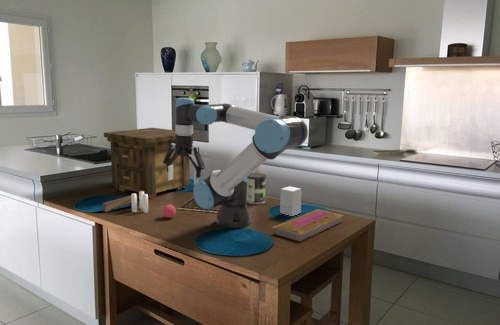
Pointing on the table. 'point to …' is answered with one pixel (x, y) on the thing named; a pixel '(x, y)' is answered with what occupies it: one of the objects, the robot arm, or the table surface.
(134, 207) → the pin
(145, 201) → the front pin
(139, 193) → the pin
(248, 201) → the coffee can
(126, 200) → the backstop
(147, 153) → the wooden drawer cabinet
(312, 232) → the pink-striped wooden board
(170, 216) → the ball
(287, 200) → the supplement box
